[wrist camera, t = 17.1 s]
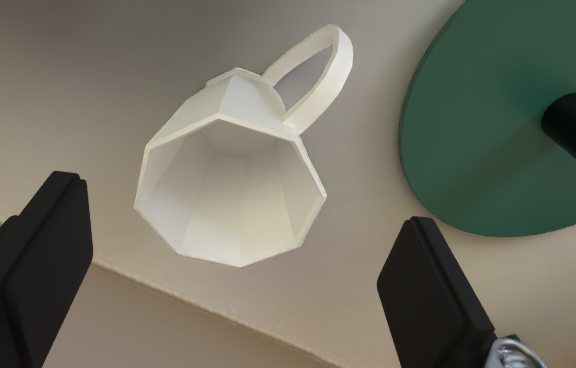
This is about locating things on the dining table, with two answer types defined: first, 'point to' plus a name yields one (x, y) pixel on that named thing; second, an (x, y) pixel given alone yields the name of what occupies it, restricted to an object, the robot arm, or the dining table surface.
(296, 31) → the dining table surface
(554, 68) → the pot lid
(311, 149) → the dining table surface
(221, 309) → the dining table surface
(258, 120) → the cup
